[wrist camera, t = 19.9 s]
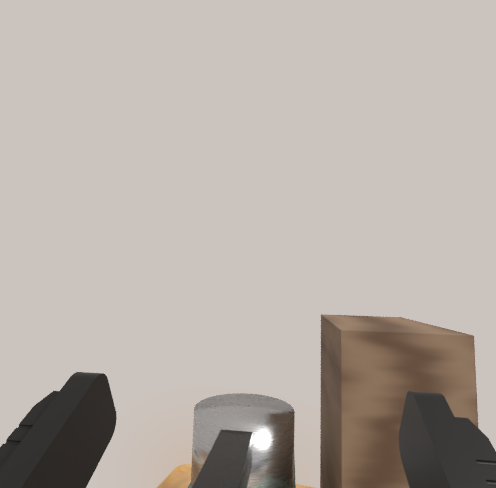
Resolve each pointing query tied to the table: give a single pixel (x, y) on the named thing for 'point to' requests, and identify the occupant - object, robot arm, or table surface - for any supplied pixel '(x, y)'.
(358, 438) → the tall walnut stand
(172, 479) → the table surface
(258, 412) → the steel pot
